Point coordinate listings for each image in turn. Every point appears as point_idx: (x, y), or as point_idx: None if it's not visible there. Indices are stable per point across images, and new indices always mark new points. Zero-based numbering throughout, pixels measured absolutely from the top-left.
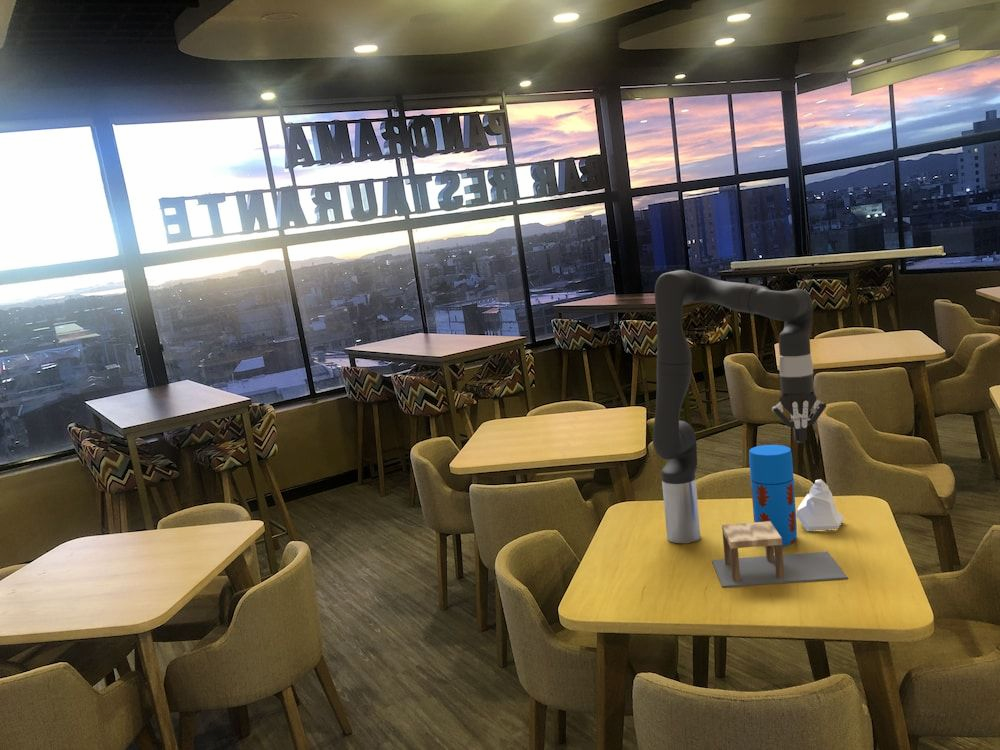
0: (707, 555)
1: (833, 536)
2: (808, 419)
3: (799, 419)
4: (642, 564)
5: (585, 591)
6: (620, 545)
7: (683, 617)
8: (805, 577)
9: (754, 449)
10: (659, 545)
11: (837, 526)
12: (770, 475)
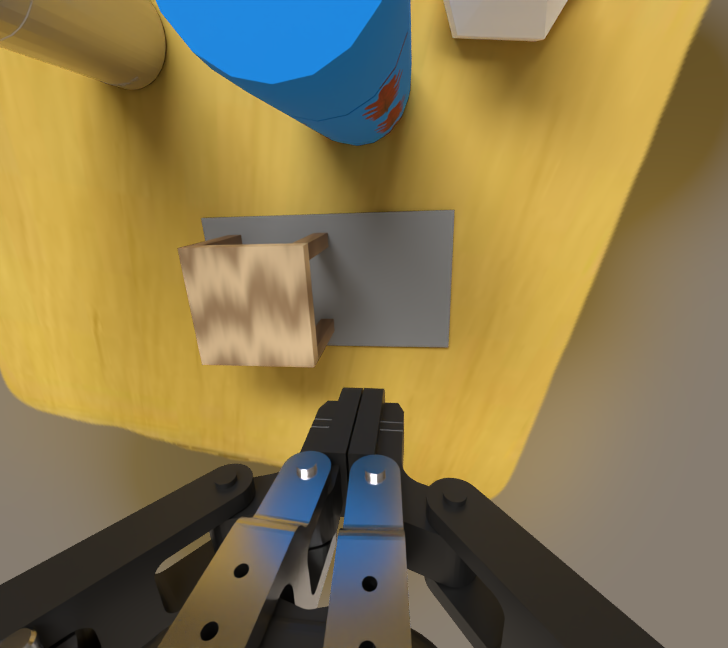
0: (192, 179)
1: (508, 91)
2: (431, 555)
3: (346, 504)
4: (66, 210)
5: (4, 318)
6: None
7: (173, 427)
8: (372, 335)
9: None
10: (75, 90)
11: (541, 39)
12: (287, 110)
